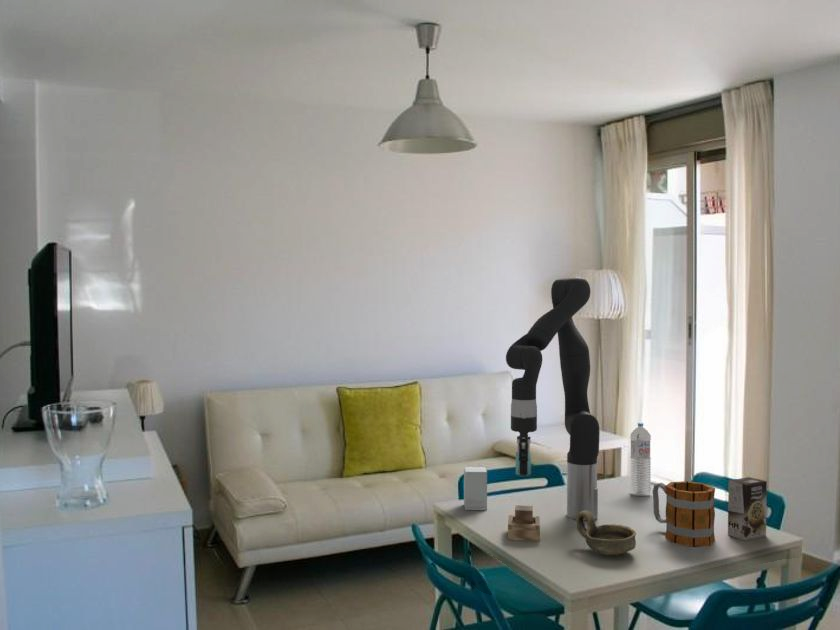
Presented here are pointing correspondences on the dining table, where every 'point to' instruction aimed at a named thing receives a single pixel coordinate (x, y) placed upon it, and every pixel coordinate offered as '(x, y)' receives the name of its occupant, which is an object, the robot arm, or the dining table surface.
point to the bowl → (606, 536)
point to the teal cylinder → (519, 464)
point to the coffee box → (747, 508)
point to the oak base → (524, 529)
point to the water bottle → (640, 462)
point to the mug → (687, 512)
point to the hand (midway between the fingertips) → (523, 472)
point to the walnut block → (523, 514)
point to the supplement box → (475, 488)
